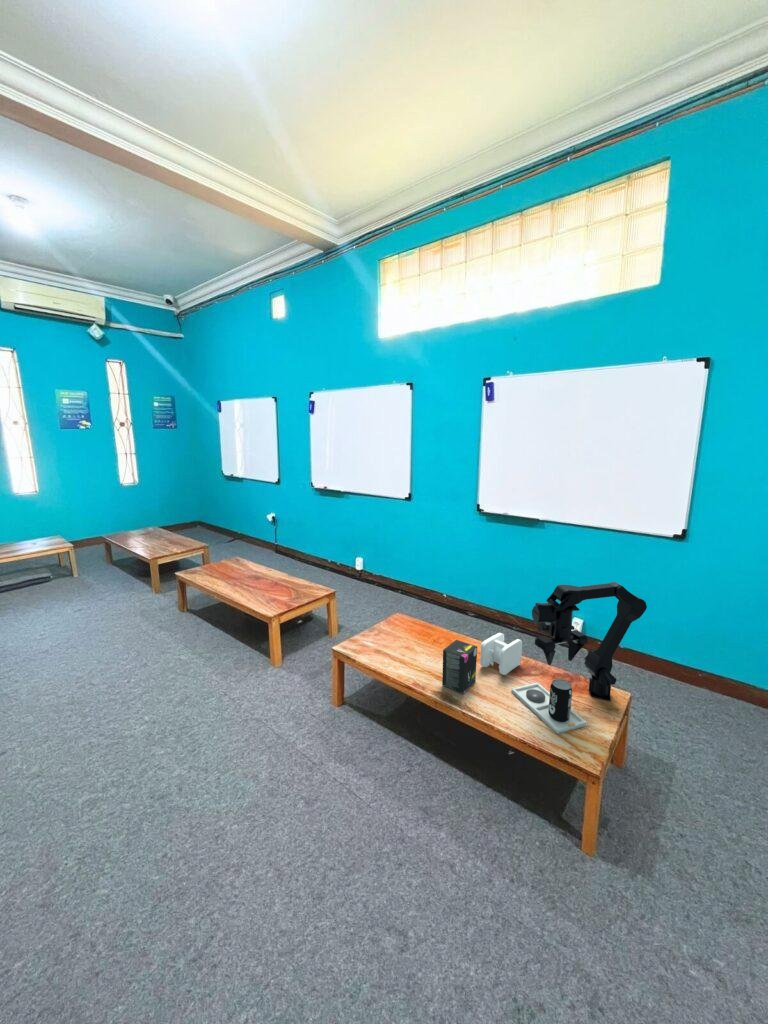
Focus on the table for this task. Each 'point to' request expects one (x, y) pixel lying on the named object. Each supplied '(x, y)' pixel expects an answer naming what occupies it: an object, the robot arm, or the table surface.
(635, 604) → the robot arm
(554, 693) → the beverage can
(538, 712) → the white divided tray
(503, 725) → the table surface
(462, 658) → the tampon box
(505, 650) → the cable organizer
